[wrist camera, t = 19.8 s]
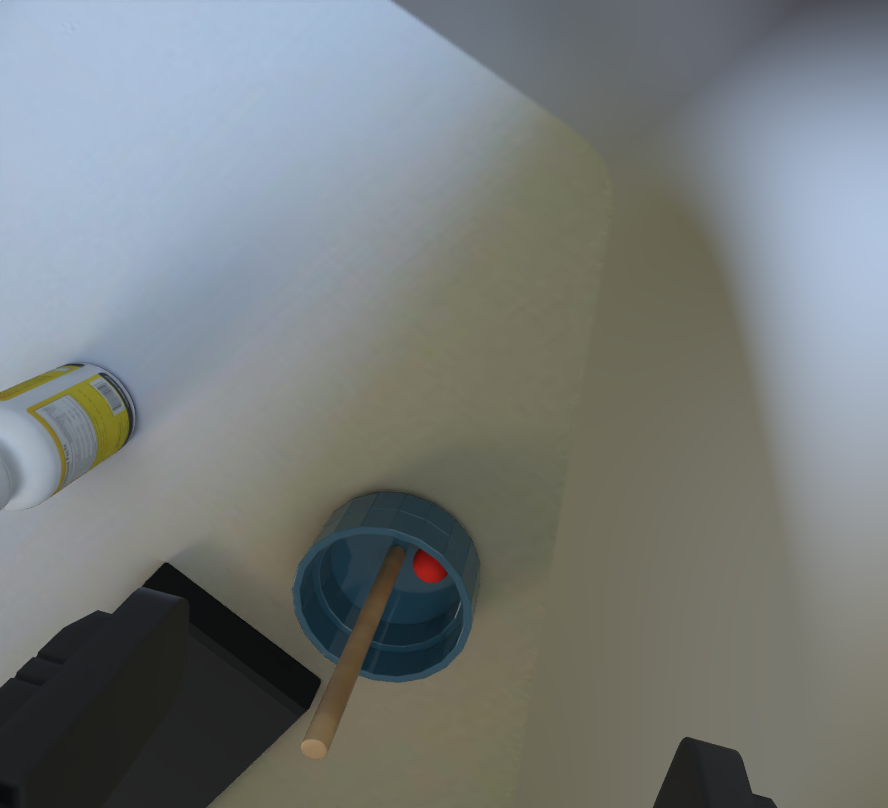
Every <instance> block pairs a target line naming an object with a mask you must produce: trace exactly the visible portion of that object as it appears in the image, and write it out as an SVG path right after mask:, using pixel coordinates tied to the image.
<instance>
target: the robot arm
mask: <svg viewBox="0 0 888 808" xmlns="http://www.w3.org/2000/svg"><path fill="white" fill-rule="evenodd" d="M188 625H189V603H188V600H187V599H185V598H181V597H178V596H174V595H170V594H167V593H163V592H159V591H156V590H152V589H148V588H145V587H141V588H139V589H137V590H136V591H135V592H133V593H132V594H131V595H130V596H129V597H128V598H127V599H126V600H125V601H124V602H123V603H122V605H121V606H120V607H119V608H118V609H117V610H116V611H115V612H114V613H113V614H110V613H106V612H102V611H99V610H97V611H95V612H93V613H91V614H89V615H88V616H86V617H84V618H82V619H80V620H78V621H76V622H74V623H72V624H70V625H68V626H66V627H64V628H63V629H62V630H61V631H60V632H59V633H58V634H57V635H56V636H55V637H53V638H52V639H51V640H50V641H49V642H48V643H47V644H46V645H45V646H44V647H43V648H42V649H41V650H40V651H39V652H38V655H37V656H36V657H32V658H31V659H30V660H29V661H28V662H27V663H26V664H25V665H24V666H23V667H22V668H21V669H20V670H19V671H18V672H17V674H16V676H15V677H14V678H10V679H9V680H8V681H7V682H6V683H5V684H4V685H3V686H2V687H1V688H0V808H103V806H104V805H105V803H106V802H107V800H108V799H109V798H110V796H111V795H112V793H113V792H114V791H115V789H116V788H117V786H118V785H119V784H120V782H121V781H122V779H123V778H124V776H125V775H126V774H127V772H128V771H129V769H130V768H131V767H132V765H133V764H134V762H135V761H136V759H137V758H138V757H139V755H140V754H141V752H142V751H143V750H144V748H145V747H146V745H147V744H148V742H149V741H150V740H151V738H152V737H153V735H154V734H155V733H156V731H157V730H158V728H159V727H160V725H161V724H162V723H163V721H164V720H165V718H166V717H167V716H168V714H169V713H170V711H171V710H172V708H173V706H174V704H175V702H176V700H177V698H178V696H179V694H180V691H181V688H182V685H183V682H184V678H185V672H186V659H187V642H188ZM653 808H777V806H776V805H775V804H774V802H773V801H772V799H770V798H767V797H763V796H759V795H756V794H752V791H751V788H750V784H749V780H748V777H747V773H746V770H745V767H744V763H743V760H742V757H741V755H740V754H739V753H738V752H737V751H736V750H733V749H729V748H726V747H722V746H719V745H715V744H711V743H708V742H704V741H700V740H696V739H693V738H689V737H685V738H684V739H683V740H682V741H681V742H680V745H679V746H678V749H677V751H676V753H675V756H674V758H673V761H672V763H671V766H670V768H669V770H668V772H667V775H666V777H665V780H664V782H663V784H662V787H661V789H660V791H659V794H658V796H657V799H656V801H655V803H654V806H653Z"/></svg>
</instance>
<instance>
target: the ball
mask: <svg viewBox="0 0 888 808" xmlns="http://www.w3.org/2000/svg"><path fill="white" fill-rule="evenodd" d="M413 569H414V572H415V574H416V575H417V576H418V578H419V579H421V580H422V581H424V582H427V583H437V582H439V581H441V580H443V579H444V578H445V577H446V576H447V575H448V573H447V571H446V570H445V569H444V568H443V567H442V565H441V564H440V563H439V562H438V560H436V559H435V558H433V557H432V556H430V555H429V554H428V553H426V552H425V551H423V550H422V549H419V550H418V551H417V552H416V554H415V556H414V558H413Z"/></svg>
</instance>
